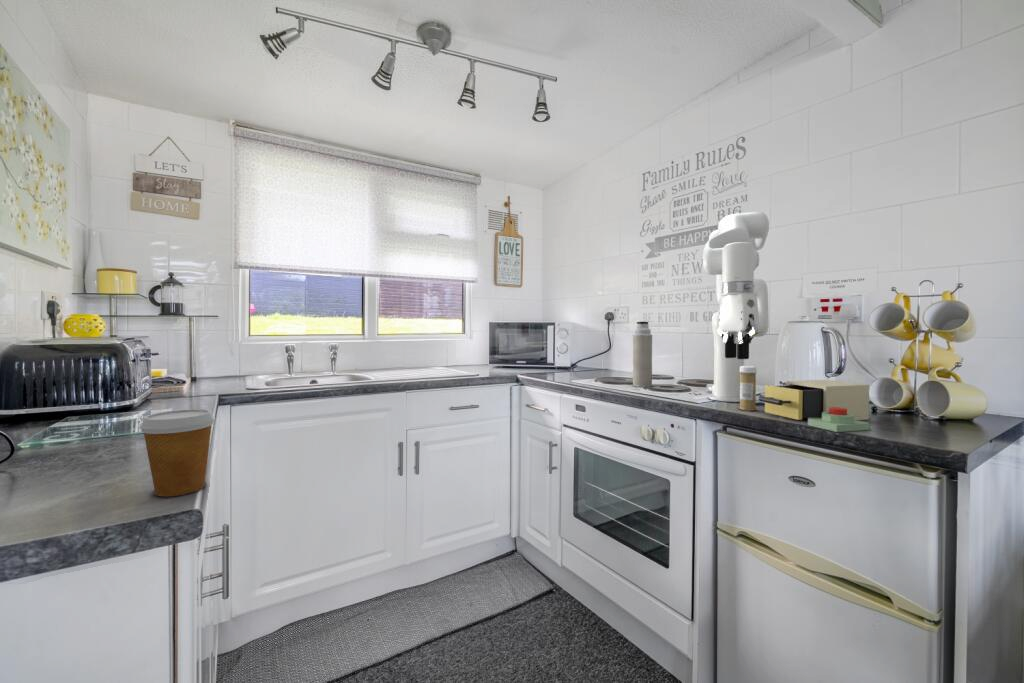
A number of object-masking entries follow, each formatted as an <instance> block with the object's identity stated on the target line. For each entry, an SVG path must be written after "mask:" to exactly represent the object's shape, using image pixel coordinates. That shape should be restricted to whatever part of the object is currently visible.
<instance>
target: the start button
mask: <svg viewBox="0 0 1024 683" xmlns="http://www.w3.org/2000/svg"><path fill="white" fill-rule="evenodd" d="M829 414H833V415H847V409H845V408H839V407H830V408H829Z"/></svg>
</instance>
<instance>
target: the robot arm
mask: <svg viewBox="0 0 1024 683" xmlns="http://www.w3.org/2000/svg"><path fill="white" fill-rule="evenodd" d="M769 230H770V221H769V218H768V216H767V214H765V213H764V212H762V211H750V212H749V211H748V212H737V213H731V214H727V215H725V216H724V217H722V218H721V219H720V221H719V223H718V225H717V229H715V230H713V231H712V232H711V233H710V234H709V236H708V240H707V242H705V245H704V248H703V251H702V267H703V270H704V272H705V274H707V275H711V276H715V278H716V280H715V281H716V284H715V287H716V288H715V289H716V291H715V292H716V294H715V295H716V301H717V303H718V305H719V309H718V310H717V311H716V312H715V313H713V315H712V316H711V328H712V329H711V330H712V335H713V384H712V386H709V387H708V390H709V391H710V392H711V394H714V395H715V396H716V397H710V396H709V395H708V399H710V400H712V401H716V402H717V401H718V402H724V403H725V402H727V403H740V366H745V360H749V359H750V344H752V340H753V339H754V338H758V337H764V336H766V335H767V333H768V331H769V325H770V324H769V323H770V322H769V291H768V290H769V289H768V285H767V283H766V281H765V280H764V279H761V278H755V276H754V275H755V271H756V270H757V268H758V267H759V266H760V253H759V252H758V251H760V250H761V249H763V248H764V246H765V244H766V242H767V241H766V240H767V237H768V234H769ZM737 338H738V340H737Z"/></svg>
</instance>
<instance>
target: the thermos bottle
mask: <svg viewBox="0 0 1024 683" xmlns="http://www.w3.org/2000/svg"><path fill="white" fill-rule="evenodd" d="M651 333H652V331H651V329H650V328H649V321H637V322H636V328H635V329H634V333H633V335H632V386H633V387H637V388H651V387H653V334H651Z"/></svg>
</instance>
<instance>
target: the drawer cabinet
mask: <svg viewBox="0 0 1024 683" xmlns="http://www.w3.org/2000/svg"><path fill="white" fill-rule="evenodd" d="M786 385H799V386H806V387H813V388H820V389H824V398H823V412H826V411H829V408H830V407H839V408H845V409H847V413H850V414H853V415H855V420H857V421H864V420H869V414H870V384H867V383H859V382H858V383H857V382H850V381H843V380H833V379H808V380H807V379H806V380H803V379H802V380H787V381H786ZM812 418H822V417H810V418H809V419H812Z"/></svg>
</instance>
